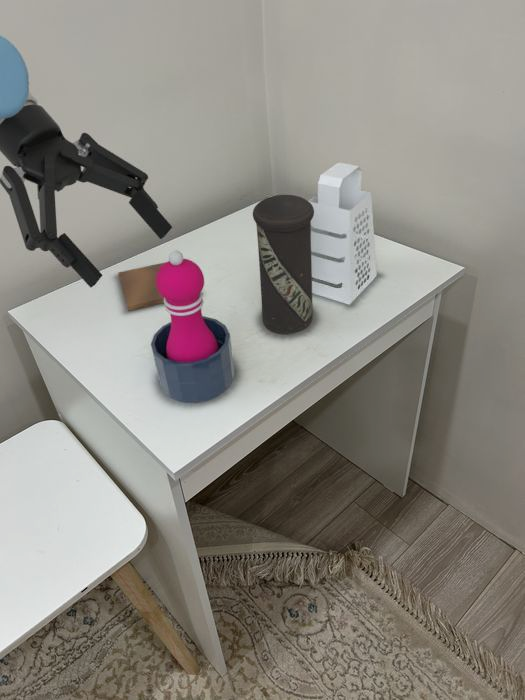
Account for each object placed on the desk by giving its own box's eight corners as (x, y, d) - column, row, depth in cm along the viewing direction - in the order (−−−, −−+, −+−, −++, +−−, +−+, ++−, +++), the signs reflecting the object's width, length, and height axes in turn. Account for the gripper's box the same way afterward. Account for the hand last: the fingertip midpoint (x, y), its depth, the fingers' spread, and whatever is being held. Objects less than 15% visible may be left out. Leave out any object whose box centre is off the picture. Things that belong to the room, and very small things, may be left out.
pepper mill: (203, 352, 82) (183, 231, 70) (232, 375, 78) (216, 251, 65) (162, 374, 79) (133, 251, 66) (189, 399, 74) (165, 273, 62)
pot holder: (128, 311, 93) (127, 306, 92) (119, 277, 102) (117, 272, 101) (196, 295, 95) (195, 290, 95) (181, 263, 104) (181, 258, 104)
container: (254, 333, 86) (244, 215, 73) (267, 301, 93) (260, 188, 80) (308, 338, 84) (308, 218, 71) (318, 305, 91) (319, 190, 78)
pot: (168, 411, 73) (159, 372, 69) (154, 364, 81) (145, 326, 77) (243, 390, 76) (239, 352, 71) (222, 346, 84) (217, 309, 79)
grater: (376, 275, 97) (386, 164, 84) (349, 304, 90) (355, 189, 78) (325, 261, 102) (327, 154, 89) (295, 287, 95) (293, 176, 83)
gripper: (80, 114, 78) (179, 229, 81) (-79, 177, 62) (52, 318, 65) (97, 76, 73) (203, 202, 76) (-72, 135, 56) (71, 291, 60)
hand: (134, 256), depth 70 cm, fingers open, 13 cm apart
